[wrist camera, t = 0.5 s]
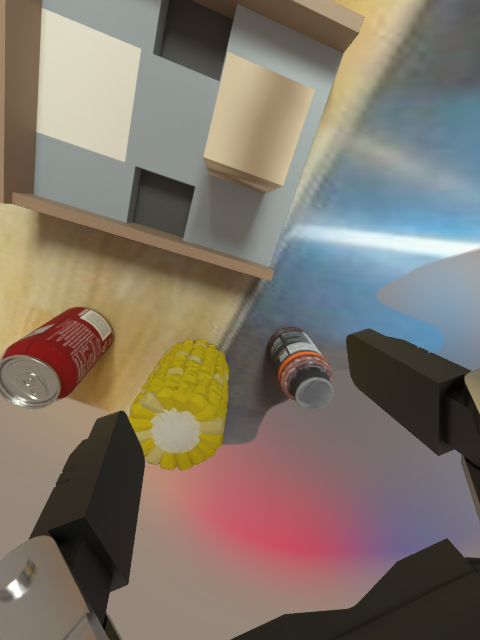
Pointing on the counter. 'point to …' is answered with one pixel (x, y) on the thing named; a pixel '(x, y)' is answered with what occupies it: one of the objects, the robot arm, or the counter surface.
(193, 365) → the food
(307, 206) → the counter surface
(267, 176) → the birch block
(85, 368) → the soda can
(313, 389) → the supplement bottle
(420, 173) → the counter surface
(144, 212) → the tray
